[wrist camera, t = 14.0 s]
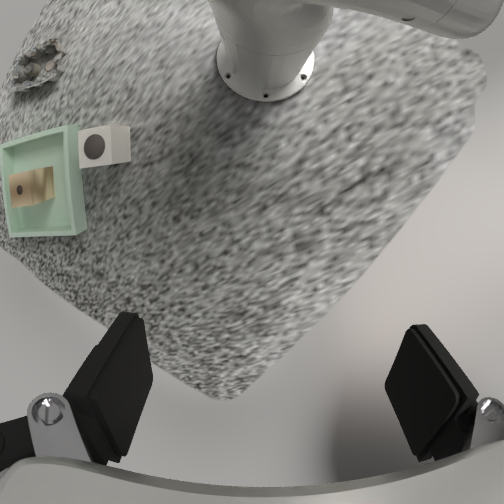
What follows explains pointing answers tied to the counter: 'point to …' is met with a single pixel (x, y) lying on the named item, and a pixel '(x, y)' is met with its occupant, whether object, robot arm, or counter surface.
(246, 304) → the counter surface
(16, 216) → the tray
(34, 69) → the egg carton
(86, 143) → the ivory block
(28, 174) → the maple block
